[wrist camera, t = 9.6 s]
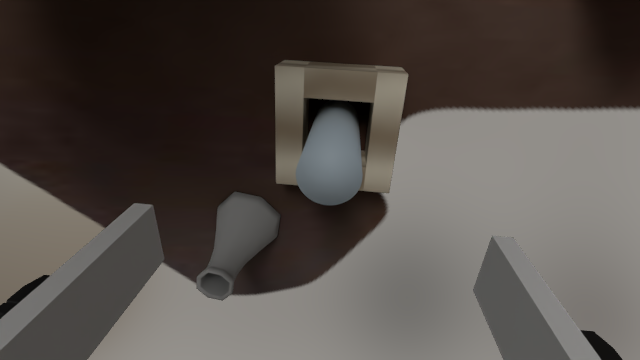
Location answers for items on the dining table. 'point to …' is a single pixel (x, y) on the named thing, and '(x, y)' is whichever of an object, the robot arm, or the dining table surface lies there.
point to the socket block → (348, 85)
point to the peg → (331, 155)
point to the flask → (237, 241)
